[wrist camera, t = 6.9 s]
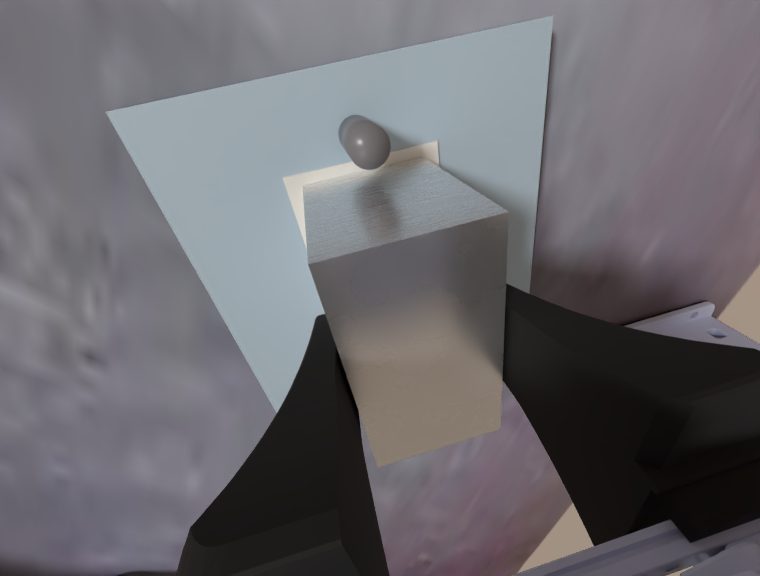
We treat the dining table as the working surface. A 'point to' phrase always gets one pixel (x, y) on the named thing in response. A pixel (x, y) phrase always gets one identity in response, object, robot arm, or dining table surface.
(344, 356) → the brushed metal pillar
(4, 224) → the dining table surface
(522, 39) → the pegged base plate
